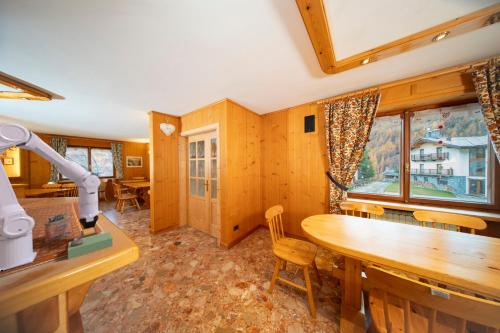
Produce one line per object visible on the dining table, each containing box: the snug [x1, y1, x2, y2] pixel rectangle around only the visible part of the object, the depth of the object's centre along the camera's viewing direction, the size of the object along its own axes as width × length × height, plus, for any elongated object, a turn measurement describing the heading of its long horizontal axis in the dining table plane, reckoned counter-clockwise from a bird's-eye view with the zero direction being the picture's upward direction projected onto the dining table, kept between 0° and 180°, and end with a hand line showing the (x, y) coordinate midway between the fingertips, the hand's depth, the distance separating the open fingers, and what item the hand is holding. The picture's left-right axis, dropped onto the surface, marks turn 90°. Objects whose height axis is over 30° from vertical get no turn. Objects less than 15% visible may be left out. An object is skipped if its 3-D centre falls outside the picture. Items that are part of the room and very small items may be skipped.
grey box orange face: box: [80, 227, 98, 239], centre depth 62 cm, size 4×7×5 cm, turn 48°
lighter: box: [43, 212, 72, 243], centre depth 67 cm, size 8×3×10 cm, turn 179°
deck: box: [67, 230, 113, 260], centre depth 59 cm, size 11×13×4 cm
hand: (89, 234), depth 66 cm, fingers closed
